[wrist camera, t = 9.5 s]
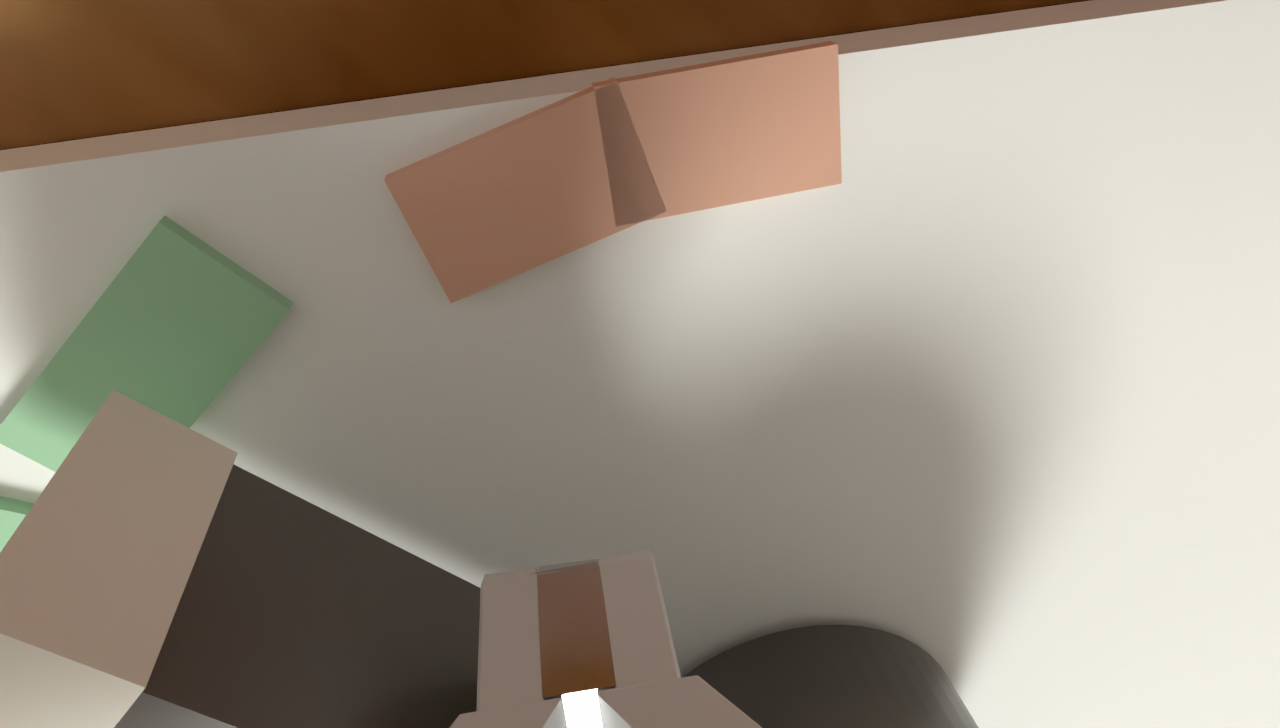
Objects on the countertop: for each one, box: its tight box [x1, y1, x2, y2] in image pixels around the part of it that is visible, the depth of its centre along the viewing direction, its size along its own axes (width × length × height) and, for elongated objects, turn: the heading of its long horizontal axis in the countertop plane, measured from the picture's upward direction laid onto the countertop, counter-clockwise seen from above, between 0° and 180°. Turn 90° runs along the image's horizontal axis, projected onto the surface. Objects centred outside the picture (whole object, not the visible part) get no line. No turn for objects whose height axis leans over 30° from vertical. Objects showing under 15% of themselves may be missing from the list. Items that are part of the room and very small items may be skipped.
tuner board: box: [0, 0, 1280, 728], centre depth 14 cm, size 22×20×1 cm
